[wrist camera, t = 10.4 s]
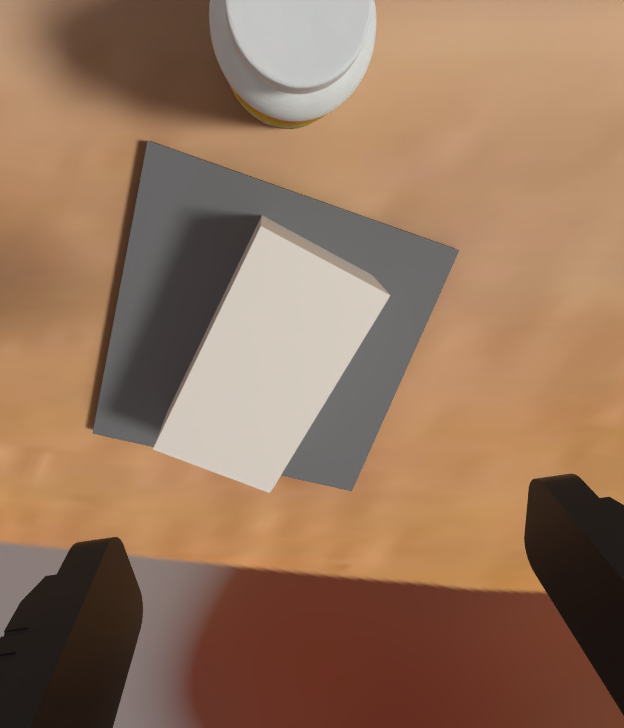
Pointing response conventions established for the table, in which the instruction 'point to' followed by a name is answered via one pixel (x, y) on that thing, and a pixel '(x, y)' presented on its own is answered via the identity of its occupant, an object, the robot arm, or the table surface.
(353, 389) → the mat
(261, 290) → the riser block
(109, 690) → the robot arm
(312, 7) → the supplement bottle
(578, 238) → the table surface
